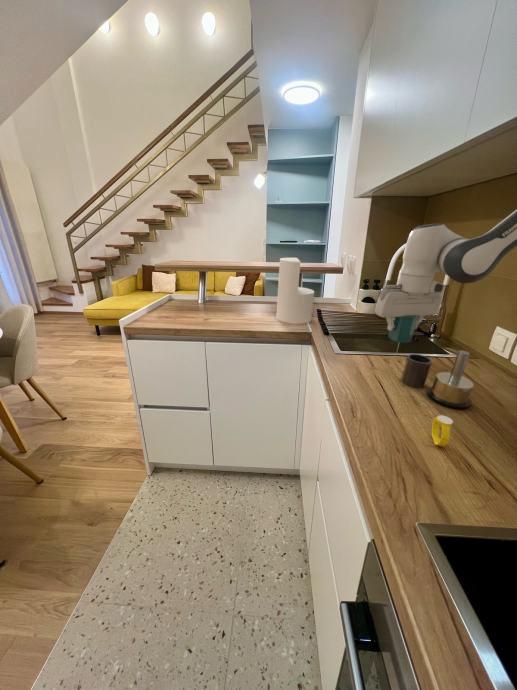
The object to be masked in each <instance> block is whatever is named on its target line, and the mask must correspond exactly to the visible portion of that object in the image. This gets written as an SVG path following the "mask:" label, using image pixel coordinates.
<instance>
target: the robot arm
mask: <svg viewBox="0 0 517 690" xmlns="http://www.w3.org/2000/svg"><path fill="white" fill-rule="evenodd" d="M516 247H517V209H515V210H513V212H512V213H510V214H509V215H508V216H507V217H505V218H504V219H503V220H501V221H500V222H499V223H497V224H496V225H495V226H494V227H492V228H491V229H489V231H487V232H485V233H483V234H482V235H480V236H477V237H473V238H466V237H464V236H461V235H459V234H457V233H455V232H454V231H452V230H451V229H449V228H448V227H446V225H445V224H444V223H442V222H441V223H438V222H437V223H428V224H422V225H418V226H416V227H414V228H413V229H412V230H411V232H410V233H409V235H408V237H407V241H406V243H405V247H404V251H403V255H402V264H401V267H400V269H399V271H398V276H397V281H396V284H387V285H385V286H384V287H383V288H381V290H380V293H379V296H378V298H377V302H376V305H375V308H374V313H375V315H376V316H378V317H380V318H384V319H386V323H387V330H388V331H394V330H395V328H396V325H394V323H393V320H395V317H402V316H417V322H416V325H415V329H414V330H417V329H418V325H419V324H420V323H421V322H422V321H423V320H424V317H425V316H436V315H437V314H438V312H439V310H440V308H441V304H442V301H443V293H444V292H445V290H446V286H447V285H446V284H444V283H441V282H439V281H436V280H434V276H435V274H436V273H443V274H444V275H445V276H448V277H449V278H450V279H451V280H453V281H454V282H456V283H460V284H472V283H477V282H479V281H481V280H483V279H485V278H486V277H487V276H489V275H490V274H491V273H492V272H493V271H494V269H495V268H496V267H497V266H498V264H499V263H500V262H501V261H502V259H503V258H504V257H505V256H506V255H507V254H508V253H510V252H511V251H512V250H513V249H515V248H516Z"/></svg>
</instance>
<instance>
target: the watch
mask: <svg viewBox="0 0 517 690" xmlns="http://www.w3.org/2000/svg"><path fill="white" fill-rule="evenodd" d="M453 424H454V421H453V420H452V418H450V417H448V416H447V415H443V414H439V415H437V416H436V417H435V418H434V419H433V421H432V426H431V437H432V439H433V442H434V443H433V444H434V445H435V446H440V447H446V446H447V445H448V443H449V440H450V437H451V427H452V426H453ZM440 427H441V435H440Z"/></svg>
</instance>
